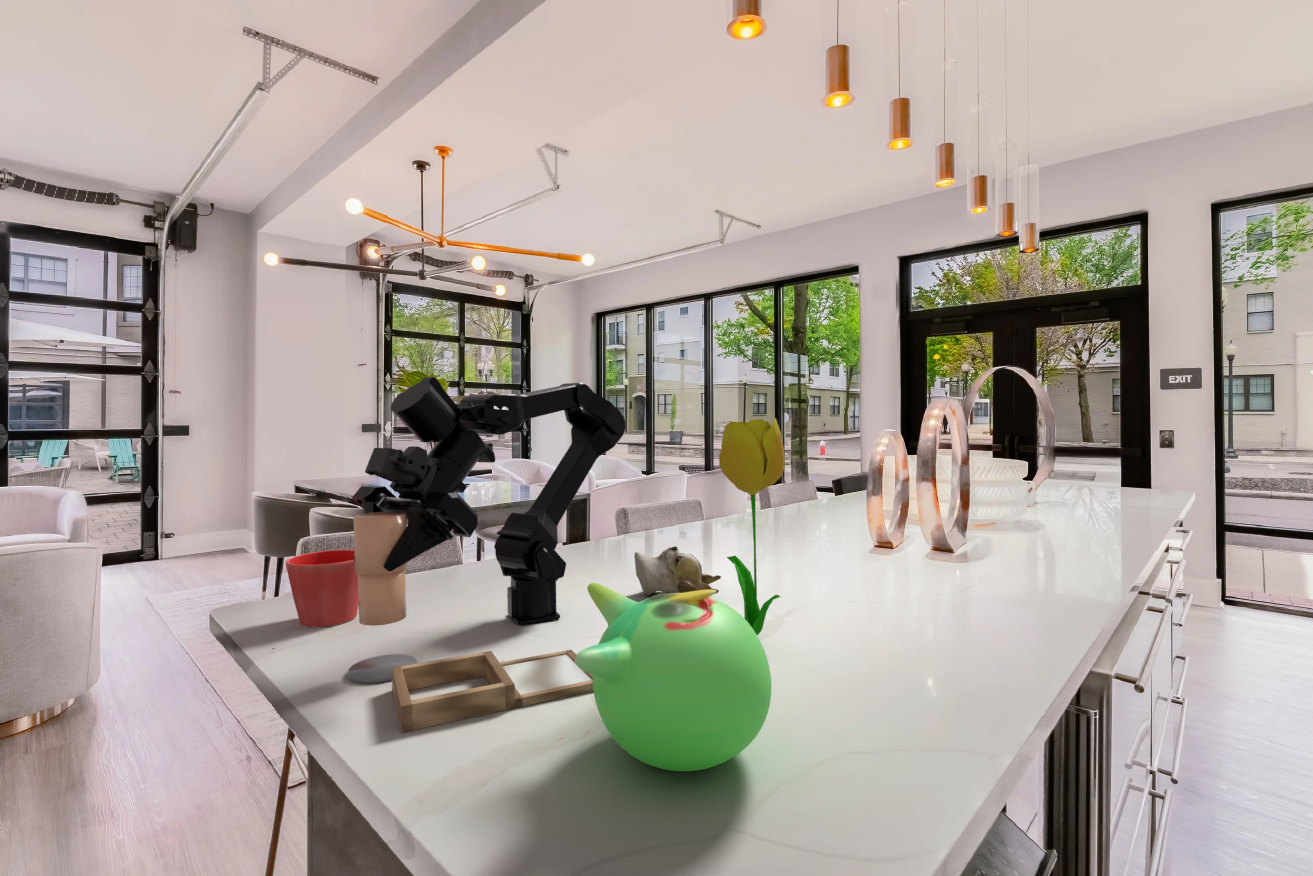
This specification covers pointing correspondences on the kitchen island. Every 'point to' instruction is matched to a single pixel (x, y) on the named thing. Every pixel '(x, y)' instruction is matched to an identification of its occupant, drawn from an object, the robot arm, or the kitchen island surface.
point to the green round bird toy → (677, 678)
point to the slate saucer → (378, 668)
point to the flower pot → (324, 587)
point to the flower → (752, 490)
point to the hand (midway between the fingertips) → (371, 566)
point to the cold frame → (506, 689)
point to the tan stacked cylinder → (379, 567)
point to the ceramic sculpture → (672, 573)
